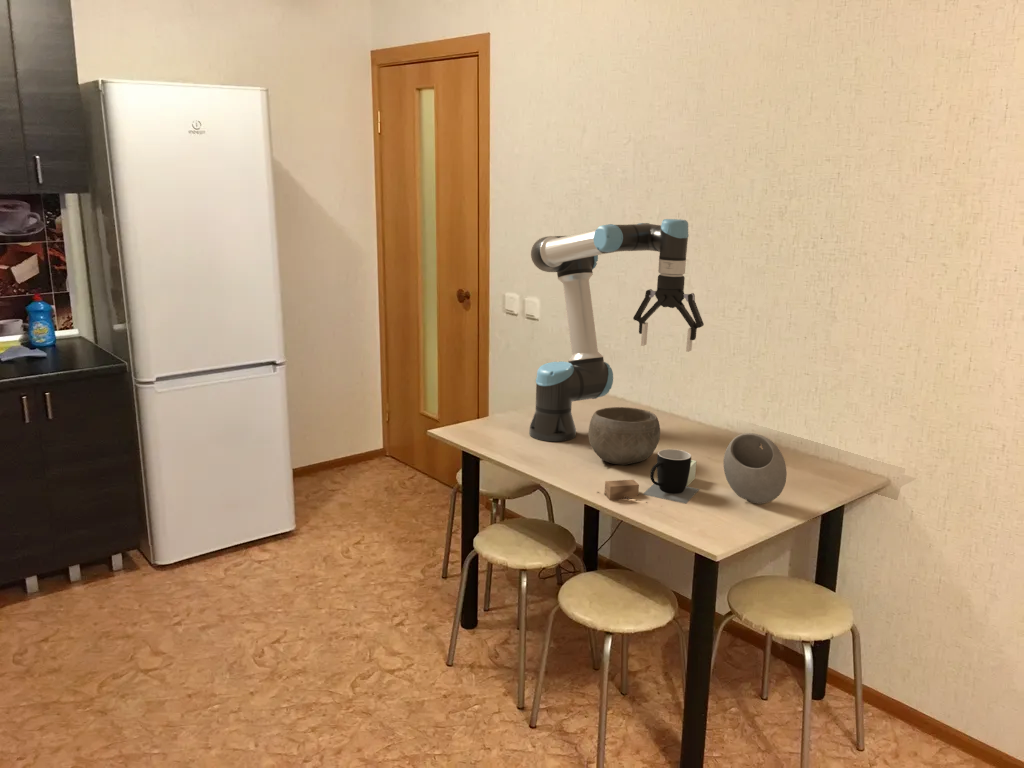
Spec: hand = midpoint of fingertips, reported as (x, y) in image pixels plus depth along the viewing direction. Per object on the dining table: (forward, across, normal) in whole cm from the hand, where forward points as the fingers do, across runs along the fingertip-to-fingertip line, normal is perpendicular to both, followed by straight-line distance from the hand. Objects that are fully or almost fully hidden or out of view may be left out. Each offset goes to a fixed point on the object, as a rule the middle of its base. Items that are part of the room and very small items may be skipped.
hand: (665, 348), depth 246 cm
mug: (+34, +11, -24) cm, 43 cm away
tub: (+35, +11, -14) cm, 39 cm away
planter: (+35, +32, -17) cm, 50 cm away
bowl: (+35, -9, -6) cm, 37 cm away
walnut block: (+35, +1, -32) cm, 48 cm away
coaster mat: (+35, +12, -24) cm, 44 cm away
